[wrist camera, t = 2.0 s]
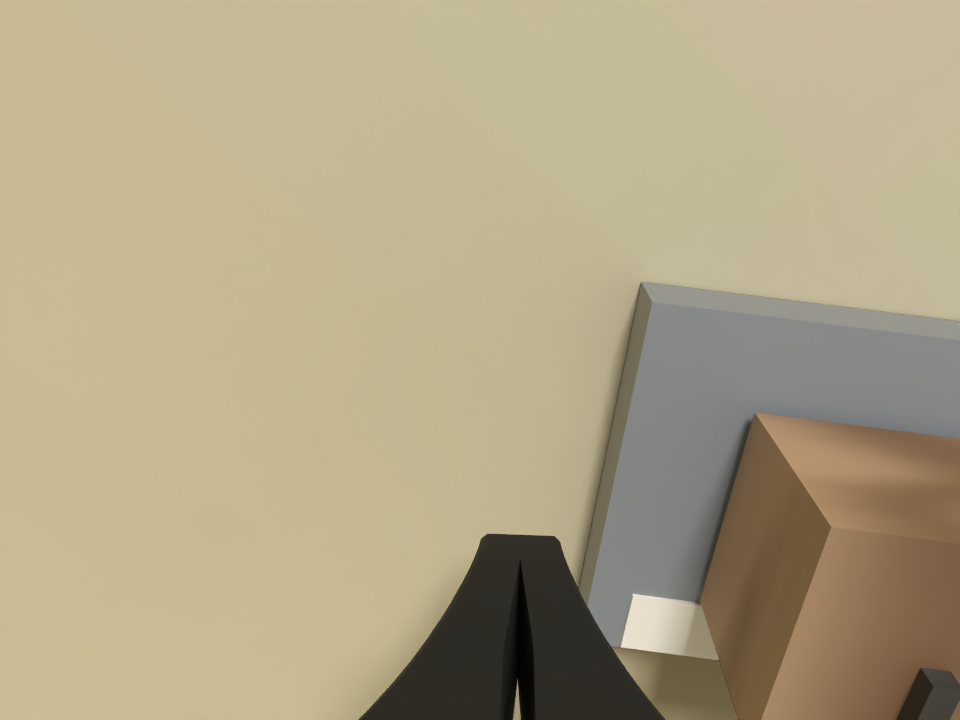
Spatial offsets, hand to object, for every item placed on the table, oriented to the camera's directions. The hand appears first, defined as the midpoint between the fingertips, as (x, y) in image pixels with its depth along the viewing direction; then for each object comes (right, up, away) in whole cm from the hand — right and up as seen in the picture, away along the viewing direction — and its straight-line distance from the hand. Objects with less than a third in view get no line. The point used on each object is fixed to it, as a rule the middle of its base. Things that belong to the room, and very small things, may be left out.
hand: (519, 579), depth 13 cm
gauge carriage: (+7, 0, +3) cm, 8 cm away
